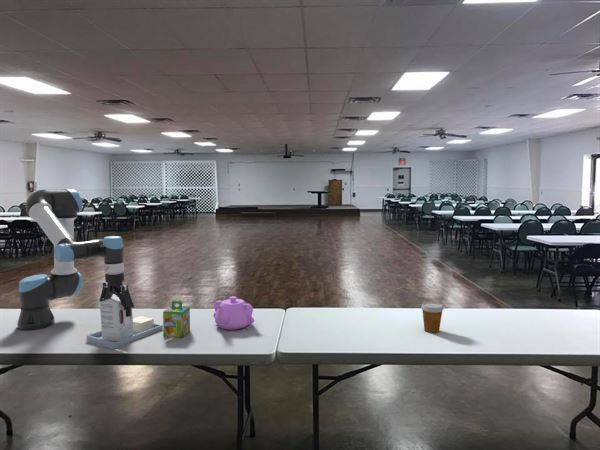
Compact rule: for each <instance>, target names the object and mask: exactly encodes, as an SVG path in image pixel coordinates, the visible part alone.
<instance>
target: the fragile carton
mask: <svg viewBox="0 0 600 450" xmlns="http://www.w3.org/2000/svg"><path fill="white" fill-rule="evenodd" d="M154 323H155V322H154V318H152V317H146V316H142V315H139V316H136V317H134V318H133V331H135V332H139V333H141V332H144V331H147V330H150V329H152V328H154Z"/></svg>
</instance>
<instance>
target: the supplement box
mask: <svg viewBox="0 0 600 450" xmlns="http://www.w3.org/2000/svg"><path fill="white" fill-rule="evenodd" d="M131 299H133V298H132V297H131ZM123 309H124V307H123V305H122V303H121V301H120V299H119V297H117V296H113V297H111V298H109V299H107V300H104V301H101V302H99V310H100V311H99V312H100V313H99V314H100V328H101V329H100V331H101V330H102V339H103V340H107V341H120V340H122V339H125V338H128V337H130V336H132V335H133V308H131V309H130V314H131V315H130V323H129V324H126V325H124V318H123Z"/></svg>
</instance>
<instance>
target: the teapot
mask: <svg viewBox="0 0 600 450" xmlns="http://www.w3.org/2000/svg"><path fill="white" fill-rule="evenodd" d="M253 309H254V308H253V306H252V305H251V304H250V303H246V301H245V300H244V299H242V298H238V296H229V298H227V299H225V300H221V299H220V300H217V301H215V303H214V313H213V318H214V323H215V324H216V325H217V327H219V328H220V329H222V330H230V331H231V330H235V329H236V330H241V329H243V328H246V327H248V326H249V324H254V322H255V318H254V317H253V312H254V310H253Z"/></svg>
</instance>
